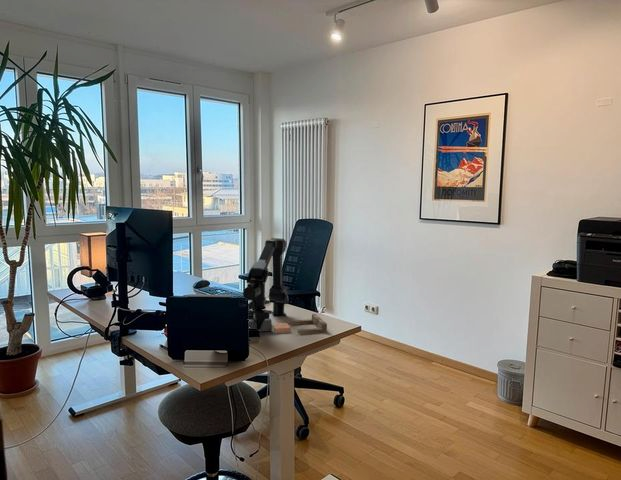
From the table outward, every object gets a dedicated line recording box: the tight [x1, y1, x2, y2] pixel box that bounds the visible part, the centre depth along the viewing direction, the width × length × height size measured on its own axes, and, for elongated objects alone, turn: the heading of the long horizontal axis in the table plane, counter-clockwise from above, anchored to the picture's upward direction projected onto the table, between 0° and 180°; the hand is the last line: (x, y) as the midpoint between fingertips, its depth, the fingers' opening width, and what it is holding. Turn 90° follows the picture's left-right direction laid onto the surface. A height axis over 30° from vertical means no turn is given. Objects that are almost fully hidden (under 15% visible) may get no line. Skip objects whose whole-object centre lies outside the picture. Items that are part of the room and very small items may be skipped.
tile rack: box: [289, 313, 328, 335], centre depth 201 cm, size 15×13×4 cm
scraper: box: [248, 317, 275, 333], centre depth 193 cm, size 13×7×5 cm, turn 109°
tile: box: [273, 322, 291, 334], centre depth 196 cm, size 7×7×2 cm
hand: (257, 328), depth 193 cm, fingers closed on scraper, 3 cm apart
